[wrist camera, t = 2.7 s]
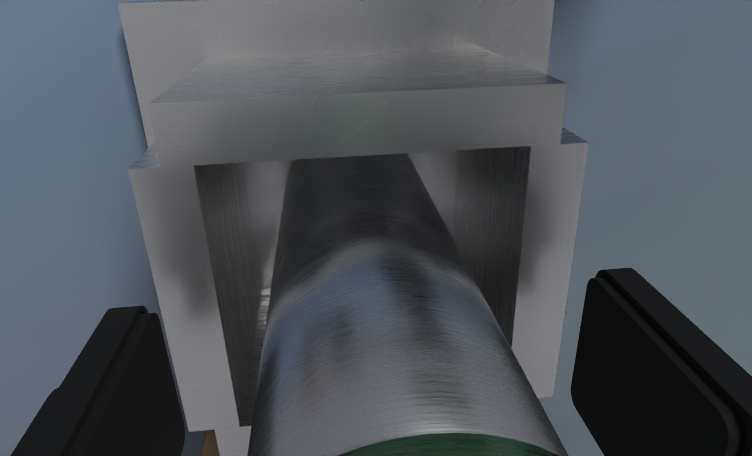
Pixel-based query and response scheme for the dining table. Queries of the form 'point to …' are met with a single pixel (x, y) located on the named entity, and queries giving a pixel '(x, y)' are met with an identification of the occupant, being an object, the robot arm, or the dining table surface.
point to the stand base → (342, 139)
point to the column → (383, 329)
